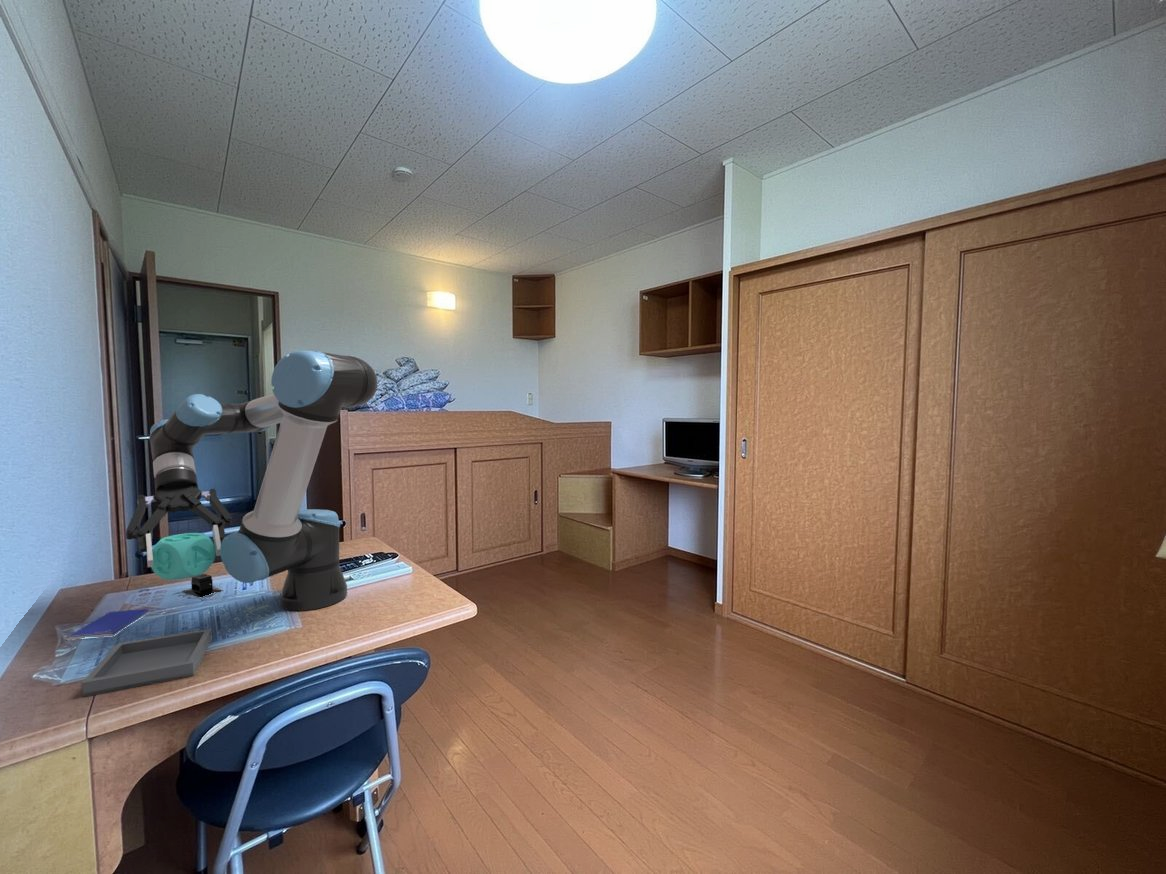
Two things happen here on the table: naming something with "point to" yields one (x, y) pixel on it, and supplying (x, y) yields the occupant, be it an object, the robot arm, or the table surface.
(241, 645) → the table surface
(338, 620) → the table surface
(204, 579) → the black boxy piece
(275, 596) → the table surface
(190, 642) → the tray
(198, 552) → the decorative dice
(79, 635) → the purple flat rectangle
